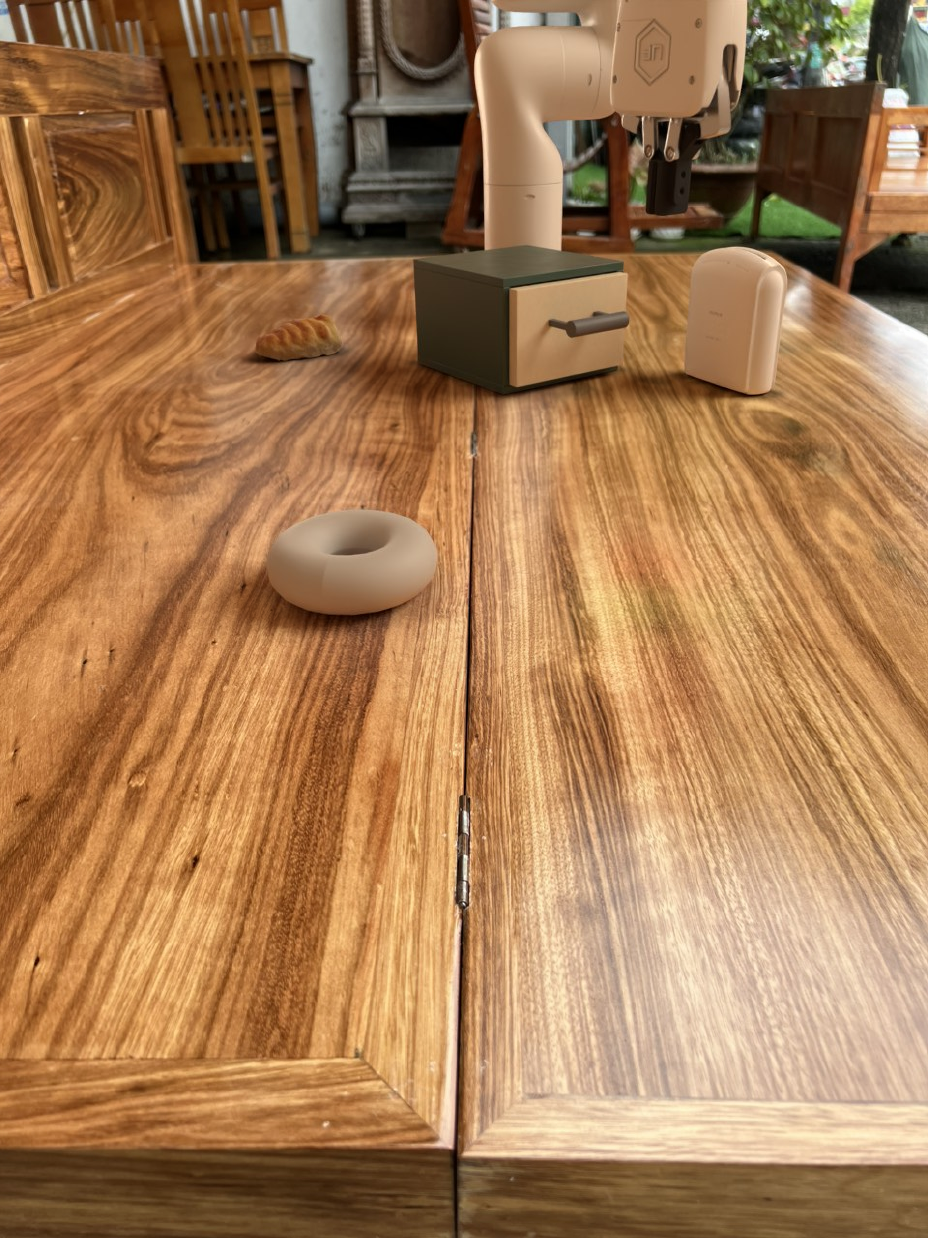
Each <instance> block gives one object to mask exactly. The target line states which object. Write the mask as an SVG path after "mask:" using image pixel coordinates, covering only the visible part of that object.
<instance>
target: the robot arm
mask: <svg viewBox="0 0 928 1238" xmlns="http://www.w3.org/2000/svg"><path fill="white" fill-rule="evenodd" d="M490 2H491V3H492V5H494V7H495V8H497V9H499V10H502V11H504V12H512V13H523V14H524V13H525V14H527V13H529V14H532V13H533V14H542V13H543V14H547V13H548V14H549V13H551V14H553V13H555V14H558V13H559V14H560V13H561V14H562V13H563V14H564V13H565V14H566V13H574V14H576V15H577V16H578V18H579V21H580V25H557V26H556V25H525V26H523V25H522V26H511V27H510V26H509V27H504V28H501V29H498V30H496V31H493V32H491V33H489V34H488V35H487V36H486V37H484V38H483V39H482V41H481V42H480V43H479V45H478V47H477V50H476V52H475V57H474V64H473V67H474V68H473V75H474V76H473V77H474V84H475V92H476V99H477V104H478V112H479V119H480V127H481V128H480V129H481V140H482V141H481V142H482V159H483V160H482V161H483V213H484V214H483V215H484V217H483V219H484V220H483V222H484V225H483V226H484V230H483V231H484V250H490V249H498V248H506V247H514V246H522V245H530V246H536V247H542V248H548V249H554V250H560V251H562V232H563V231H562V230H563V228H562V227H563V190H564V189H563V188H564V168H563V167H564V166H563V160H562V157H561V155H560V152H559V150H558V148H557V146H556V145H555V143H554V142H553V140H552V139H551V137H550V136H549V135H548V132H547V131H546V130H545V127H544V125H543V124H544V123H552V122H564V121H565V122H566V121H567V122H568V121H587V120H600V119H604V118H607V117H609V116H611V115H613V114H614V113H615V112H616V114H619V115H621V126H622V128H623V129H625V130H627V131H629V132H631V133H633V134H635V135H637V136H638V138H639V140H640V142H641V143H642V155H643V157H644V159H645V160H648V170H647V182H646V198H645V213H646V214H647V215H649V216H651V215H652V216H658V217H666V216H668V217H669V216H674V215H681V214H685V213H687V211H688V209H689V199H690V198H689V197H690V189H691V188H690V187H691V180H692V179H691V177H692V168H693V167H692V165H693V160H697V159H698V158H699V157H700V155H701V150H702V147H703V146H704V145H705V144H706V143H707V141H708V140H709V139H711V138H716V137H719V136H722V135H725V134H728V133H729V132H730V131H731V128H732V114H731V112H732V111H733V110H734V109H736V107H737V105H738V103H739V100H740V96H741V91H742V90H741V89H742V85H743V78H744V71H745V61H746V60H745V59H746V50H747V49H746V46H747V32H748V31H747V26H748V0H490Z"/></svg>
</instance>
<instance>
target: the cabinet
mask: <svg viewBox="0 0 928 1238" xmlns="http://www.w3.org/2000/svg"><path fill="white" fill-rule="evenodd" d="M624 262H625V261H623V260H619V259H612V258H607V257H600V256H595V255H590V254H589V255H588V254H583V253H576V252H570V251H566V250H565V251H564V250H561V251H560V250H554V249H548V248H542V247H536V246H530V245H522V246H514V247H506V248H498V249H490V250H485V249H483V250H475V251H468V252H459V253H451V254H444V255H435V256H427V257H419V258H413V259H412V264H413V285H414V286H413V287H414V304H415V305H414V306H415V328H416V348H417V349H416V350H417V364H419V365H423V366H425V367H427V368H430V369H433V370H435V371H438V372H441V373H444V374H446V375H449V376H452V377H454V378H457V379H459V380H463V381H465V382H468V383H470V384H473V385H476V386H479V387H482V388H484V389H486V390H490V391H491V392H496V393H498V394H500V395H509V394H513V393H518V392H523V391H526V390H531V389H536V388H541V387H546V386H549V385H550V386H551V385H554V384H559V383H563V382H569V381H574V380H578V379H583V378H588V377H592V376H597V375H601V374H605V373H610V372H615V371H618V370H619V365H618V366H614V367H609V368H604V369H600V370H595V371H590V372H586V373H581V374H576V375H572V376H567V377H562V378H558V379H553V380H548V381H544V382H539V383H534V384H529V385H525V386H520V387H515V386H512V385H510V384H509V289H510V287H512V286H519V285H525V284H532V283H539V282H545V281H552V280H559V279H565V278H572V277H579V276H585V275H592V274H599V273H605V274H610V273H616V272H623V273H624V264H625V263H624Z"/></svg>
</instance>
